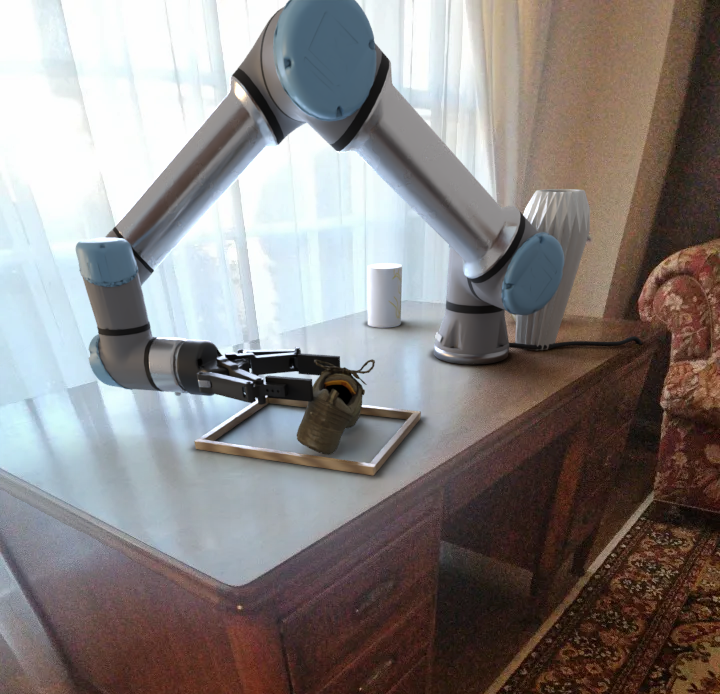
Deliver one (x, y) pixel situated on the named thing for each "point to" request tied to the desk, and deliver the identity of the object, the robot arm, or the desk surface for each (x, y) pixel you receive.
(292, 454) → the wooden frame
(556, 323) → the vase
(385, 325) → the cup
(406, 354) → the desk surface
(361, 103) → the robot arm
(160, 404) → the desk surface
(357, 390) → the hiking shoe
